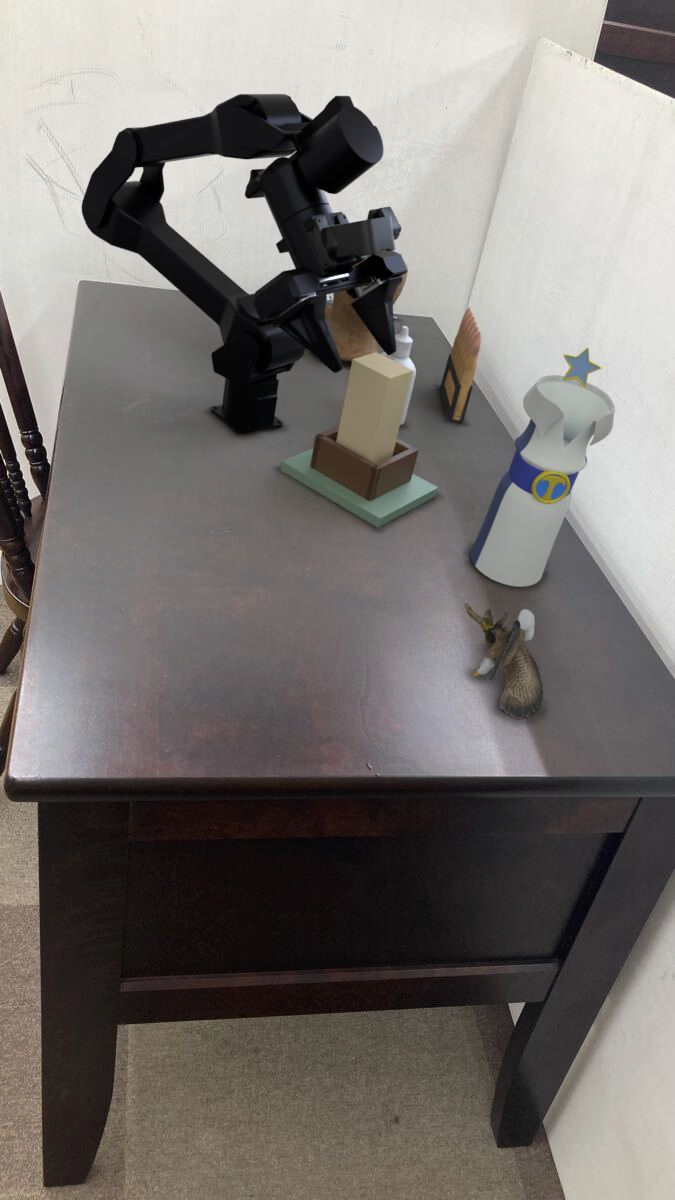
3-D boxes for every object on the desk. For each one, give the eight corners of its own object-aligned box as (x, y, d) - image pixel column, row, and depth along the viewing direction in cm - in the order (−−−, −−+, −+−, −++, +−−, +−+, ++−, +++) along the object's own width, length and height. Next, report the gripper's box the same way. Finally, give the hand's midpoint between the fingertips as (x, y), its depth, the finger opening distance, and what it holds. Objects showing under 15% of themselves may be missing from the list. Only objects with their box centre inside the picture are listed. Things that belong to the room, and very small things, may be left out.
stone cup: (396, 372, 127) (421, 267, 118) (315, 365, 124) (334, 256, 115) (372, 330, 138) (393, 231, 129) (297, 323, 135) (313, 220, 126)
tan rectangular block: (330, 469, 99) (352, 358, 91) (353, 460, 102) (376, 351, 94) (364, 489, 97) (390, 378, 89) (387, 479, 99) (413, 370, 92)
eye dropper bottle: (372, 425, 112) (392, 334, 105) (365, 405, 116) (384, 316, 109) (405, 429, 113) (427, 338, 106) (397, 409, 117) (418, 320, 110)
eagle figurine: (433, 636, 79) (469, 693, 71) (488, 576, 77) (531, 628, 69) (490, 675, 82) (530, 734, 74) (544, 619, 80) (590, 673, 73)
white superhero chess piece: (555, 595, 89) (660, 365, 74) (473, 582, 88) (563, 345, 73) (541, 547, 96) (634, 326, 80) (464, 534, 95) (544, 307, 79)
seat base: (279, 470, 99) (286, 428, 96) (341, 444, 107) (349, 404, 104) (377, 528, 93) (388, 485, 90) (435, 496, 101) (447, 456, 98)
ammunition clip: (462, 423, 117) (487, 336, 110) (449, 421, 117) (473, 333, 110) (452, 389, 126) (475, 306, 119) (439, 387, 126) (461, 303, 119)
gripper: (293, 181, 79) (365, 347, 81) (413, 170, 91) (473, 314, 93) (221, 243, 87) (288, 392, 89) (341, 225, 99) (397, 356, 101)
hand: (366, 362), depth 93 cm, fingers open, 9 cm apart
